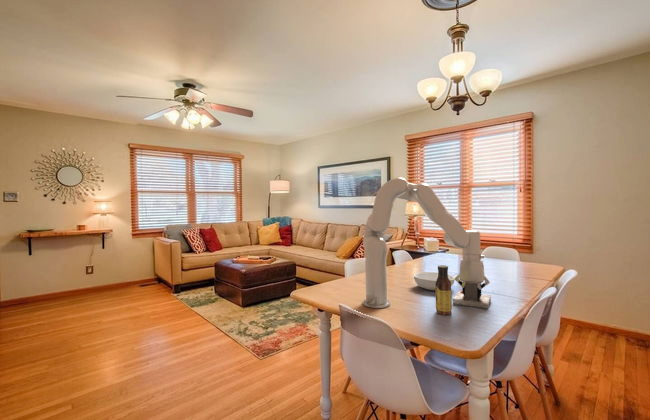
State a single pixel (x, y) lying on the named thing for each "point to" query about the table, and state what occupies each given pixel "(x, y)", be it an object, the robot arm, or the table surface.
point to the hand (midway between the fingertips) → (471, 296)
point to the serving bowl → (429, 280)
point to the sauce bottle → (443, 291)
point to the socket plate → (472, 301)
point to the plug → (471, 290)
